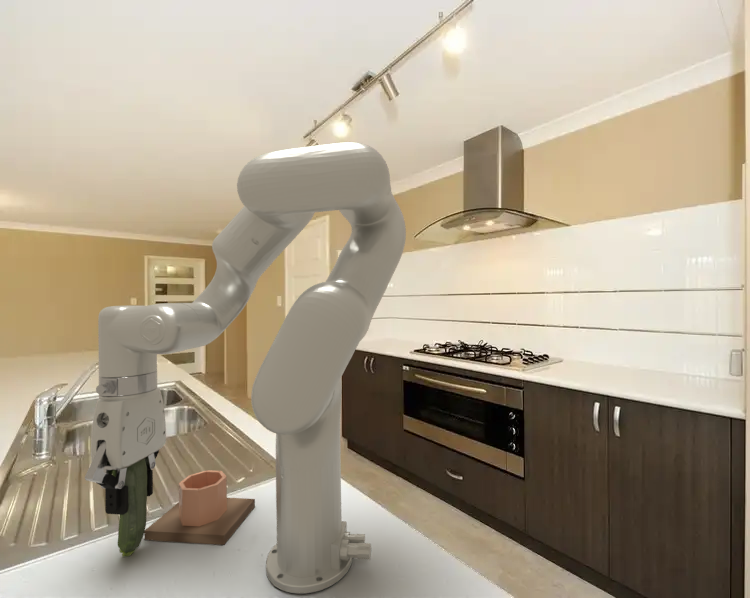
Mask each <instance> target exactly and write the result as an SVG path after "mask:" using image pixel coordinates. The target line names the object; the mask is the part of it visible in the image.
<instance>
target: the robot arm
mask: <svg viewBox="0 0 750 598" xmlns="http://www.w3.org/2000/svg"><path fill="white" fill-rule="evenodd" d="M236 189H237V195H238V197H239V200H240V201H241V203H242V205H243V207H242V208H241V209H240V210H239V211H238V213H237V214H235V215H234V217H233V218H232V219H231V220H230V221H229V223H227V225H226V226H225V227H224V228H223V229H222V230H221V232H219V233H218V234H217V236H216V237H214V239H213V240H212V244H211V245H212V246H211V248H212V253H213V254H214V258H215V261H216V269H215V273H214V275H213V278H212V279H211V281H210V282H209V283H208V285H207V286H206V287H205V288H204V290H202V292H201V293H200V294H199V295H198V296H197V297H196V298H195V300H193V301H192V302H175V303H174V302H173V303H172V302H166V303H165V302H164V303H156V304H148V305H113V306H112V305H111V306H106V307H103V308H102V309H101V310H100V311H99V312H98V313H99V314H98V318H97V322H98V323H97V324H98V326H97V329H98V330H97V331H98V332H97V334H98V385H97V386H96V388H95V392H96V393H97V394H98V399H97V400H96V403H95V408H94V412H93V419H92V427H91V439H90V458H91V459H90V461H91V463H90V465H89V467H88V469H87V471H86V474H85V475H84V479H85V481H88V482H92V483H95V484H96V485H99V486H100V488H102V489H105V492H104V493H105V495H104V496H105V500H104V501H105V504H104V506H105V513H106V514H107V515H119V516H120V515H124V514H125V513H127V512H128V486H126V485H124V483H125V477H126V470H127V467H129V466H131V465H133V464H135V463H137V462H138V461H140V460H142V459H144V458H145V460H146V466H147V497H150V496H152V495H153V493H154V488H153V487H154V486H153V485H154V484H153V483H154V479H153V478H154V475H153V474H154V472H153V471H154V470H153V469H155V467H156V458H157V457H158V455H159V453H160V449H162V448H163V447H164V445H165V444H166V442H167V425H166V413H165V412H166V411H165V405H164V399H163V396H162V391H161V388H160V387H158V355H170V354H174V353H180V352H183V351H187V350H191V349H192V350H193V349H196V348H197V349H198V348H202V347H205V346H207V345H209V344H211V343H212V342H214V341H215V340H216V339H218V337H220V336H221V335H222V334H223V332H225V330H226V329H228V327H229V326H230V325H231V324H232V323H233V321H235V319H237V317H238V316H239V315H240V314H241V312H243V310H244V308H245V307H246V305H247V304H248V302H249V300H250V298H251V296H252V294H253V293H254V291H255V288H256V286H257V283H258V281H259V279H260V277H261V276H262V275H263V274H264V273H265V272H266V271H267V270H268V269H269V267H270V266H272V264H273V262H275V261H276V259H277V258H278V257H279V256H280V255H281V254H282V252H284V250H286V248H287V247H288V246H289V245H290V244H291V243H292V242H293V241H294V240H295V239H296V238H297V236H298V235H299V234H300V233H301V232H303V230H304V229H305V228H306V227H307V226H308V224H309V223H310V222H311V220H312V219H313V217H314V215H315V213H321V212H322V213H324V212H332V211H339V212H340V214H341V215H342V216H343V217H344V218H345V220H347V221H348V224H350V226H351V233H350V236H349V238H348V240H347V241H346V243H345V244H344V246H343V247H342V249H341V251H340V253H339V255H338V257H337V259H336V262H335V264H334V266H333V268H332V269H331V271H330V273H329V275H328V277H327V279H326V280H325V281H322V282H319V283H317V284H313V285H312V286H310V287H308V288H307V289H306V290H304V291H303V292H302V293H300V295H299V296H298V297H297V298H296V300H295V301H294V303H293V304H292V306H291V308H290V309H289V311H288V312H287V315H286V316H285V318H284V319H283V322H282V324H281V326H280V328H279V330H278V332H277V334H276V335H275V337H274V340H273V342H272V343H271V345H270V347H269V349H268V351H267V353H266V356H265V357H264V359H263V360H262V363H261V365H260V366H259V369H258V372H257V374H256V376H255V378H254V381H253V385H252V387H251V396H250V398H251V399H250V400H251V407H252V412H253V413H254V416H255V418H256V419H257V421H258V422H259V424H261V426H263V428H265V429H266V430H267V431H269V432H271V433H274V434H275V501H276V502H275V503H276V507H275V509H276V511H275V512H276V515H275V516H276V543H275V544H274V546H272V548H271V549H270V551H269V553H268V554H267V558H266V561H265V570H266V576H267V578H268V581H269V582H270V583H271V584H272V586H275V587H276V588H278V589H280V590H281V591H283V592H286V593H292V594H310V593H317V592H319V591H323V590H325V589H327V588H330V587H332V586H333V585H334V584H337V583H338V582H339V581H340V580H341V579H343V577H345V575H346V574H347V573H348V572H349V570H350V568H351V566H352V564H353V559H358V560H369V561H370V560H371V555H372V543H369V542H366V534H363V533H356V534H355V533H351V531H347V528H348V525H347V521H345V520H342V518H343V517H342V478H341V477H342V474H341V472H342V471H341V467H342V466H341V463H342V462H341V417H342V416H341V414H342V411H341V410H342V390H343V389H342V387H343V385H342V383H343V381H342V376H343V374H344V372H345V370H346V368H347V366H348V365H349V363H350V361H351V359H352V358H353V355H354V353H355V351H356V349H357V347H358V346H359V344H360V342H361V341H362V340H363V339H364V338H365V336H366V335H367V333H368V331H369V328H370V326H371V322H372V320H373V317H374V314H375V313H376V310H377V309H378V307H379V305H380V303H381V300H382V299H383V297H384V294H385V293H386V290H387V289H388V286H389V283H390V282H391V280H392V278H393V276H394V273H395V271H396V269H397V268H398V265H399V263H400V261H401V258H402V255H403V252H404V249H405V245H406V238H407V237H406V236H407V231H406V230H407V229H406V221H405V217H404V214H403V212H402V210H401V208H400V205H399V204H398V202H397V200H396V199H395V196H394V195H393V192H392V187H391V177H390V170H389V167H388V164H387V161H386V159H384V157H383V155H382V154H381V153H380V152H379V151H378V150H377V149H375V148H374V147H372V146H370V145H368V144H365V143H363V142H354V141H344V142H335V143H328V144H327V143H325V144H318V145H310V146H303V147H302V146H301V147H293V148H288V149H287V148H286V149H280V150H274V151H269V152H266V153H263V154H261V155H258V156H256V157H254V158H253V159H251V160H250V161H248V162H247V163H246V164H245V165H244V166H243V168H242V169H241V171H240V172H239V174H238V177H237V183H236ZM113 470H117V474H116V477H115V476H113V475H112V473H113Z"/></svg>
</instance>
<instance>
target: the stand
mask: <svg viewBox="0 0 750 598" xmlns="http://www.w3.org/2000/svg"><path fill="white" fill-rule="evenodd" d="M255 507H256V498H247V497H246V498H245V497H244V498H243V497H242V498H240V497H227V510H226V511H225V513H224V514H223V515H222V516H221V517H220V518H219V519H218V520H216V521H213V522H210V523H207V524H205V525H202V526H183V525H182V523H181V520H180V518H179V501H178V502H177V503H176V504H174V505H173V506H172V507H171V508H169V510H168V511H166V512H165V513H164V514H162V516H159V518H158V519H157V520H155V521H154V522H153V523H152V524H150V525H149V526H148V527H147V528H145V531H144V535H143V538H144V541H153V542H154V541H157V542H173V543H187V544H188V543H189V544H204V545H206V544H207V545H217V546H218V545H223V546H224V545H225V544H226V543H227V542H228V541H229V540H230V538H231V537H232V536H233V535H234V534H235V532H236V531H237V530H238V529H239V527H240V526H241V525H242V524H243V522H244V521H245V520H246V518H247V517H248V516H249V514H251V512H252V511H253V510H254V508H255Z"/></svg>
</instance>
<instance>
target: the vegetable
mask: <svg viewBox="0 0 750 598" xmlns="http://www.w3.org/2000/svg"><path fill="white" fill-rule="evenodd" d="M116 474H117V470H113V473H112V475H113V476H115V477H116ZM124 485H126V486H128V512H127V513H125V514H124V515H119V522H118V534H117V536H118V537H117V547H118V549H119V553H120V554H121V556H122V558H124V557H125V558H126V557H130V556H132V555H133V554H134V553H135V551H136V550H137V549H138V548H139V547H140V546H141V543H142V541H143V538H144V531H145V530H146V527H147V511H148V510H147V503H148V501H147V500H148V496H147V466H146V460H145V458H144V459H142V460H140V461H138V462H137V463H135V464H133V465H131V466H129V467H127V470H126V477H125V483H124Z"/></svg>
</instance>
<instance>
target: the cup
mask: <svg viewBox="0 0 750 598" xmlns="http://www.w3.org/2000/svg"><path fill="white" fill-rule="evenodd" d="M227 477H228V476H227V475H226V474H225V473H224V472H223V470H211V469H210V470H209V469H208V470H203V471H199V472H196V473H192V474H189V475H187V476H186V477H185V478H183V479H182V480H181V481H180V482H178V502H179V518H180V520H181V523H182V525H183V526H202V525H205V524H207V523H210V522H213V521H216V520H218V519H219V518H220V517H221V516H222V515H223V514H224V513H225V511H226V510H227V498H228V491H227V490H228V489H227V486H228V485H227V484H228V483H227V482H228V481H227V480H228V479H227Z"/></svg>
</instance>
